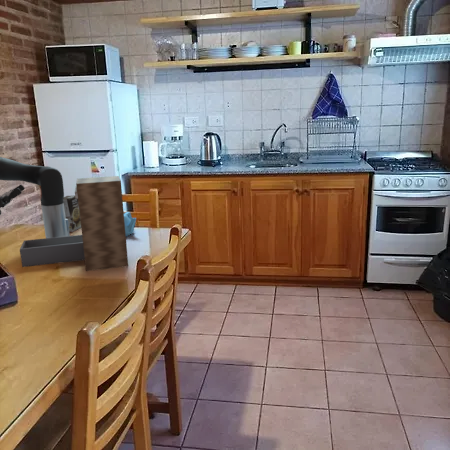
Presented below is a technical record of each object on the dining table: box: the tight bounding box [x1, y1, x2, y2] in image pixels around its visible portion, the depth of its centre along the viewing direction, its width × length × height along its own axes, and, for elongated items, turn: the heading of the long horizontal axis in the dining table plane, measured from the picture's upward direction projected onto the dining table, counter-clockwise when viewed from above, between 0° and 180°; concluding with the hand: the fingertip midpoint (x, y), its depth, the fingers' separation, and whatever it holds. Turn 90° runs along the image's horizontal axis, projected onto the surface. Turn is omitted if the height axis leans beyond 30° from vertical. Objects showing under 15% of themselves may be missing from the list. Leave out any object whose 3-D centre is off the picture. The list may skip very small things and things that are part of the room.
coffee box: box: [63, 195, 81, 233], centre depth 213 cm, size 9×6×16 cm
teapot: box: [124, 211, 137, 237], centre depth 203 cm, size 15×15×11 cm
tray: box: [19, 234, 85, 268], centre depth 173 cm, size 31×12×7 cm, turn 107°
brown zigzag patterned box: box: [74, 175, 129, 272], centre depth 162 cm, size 16×12×32 cm
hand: (21, 188), depth 163 cm, fingers open, 8 cm apart
